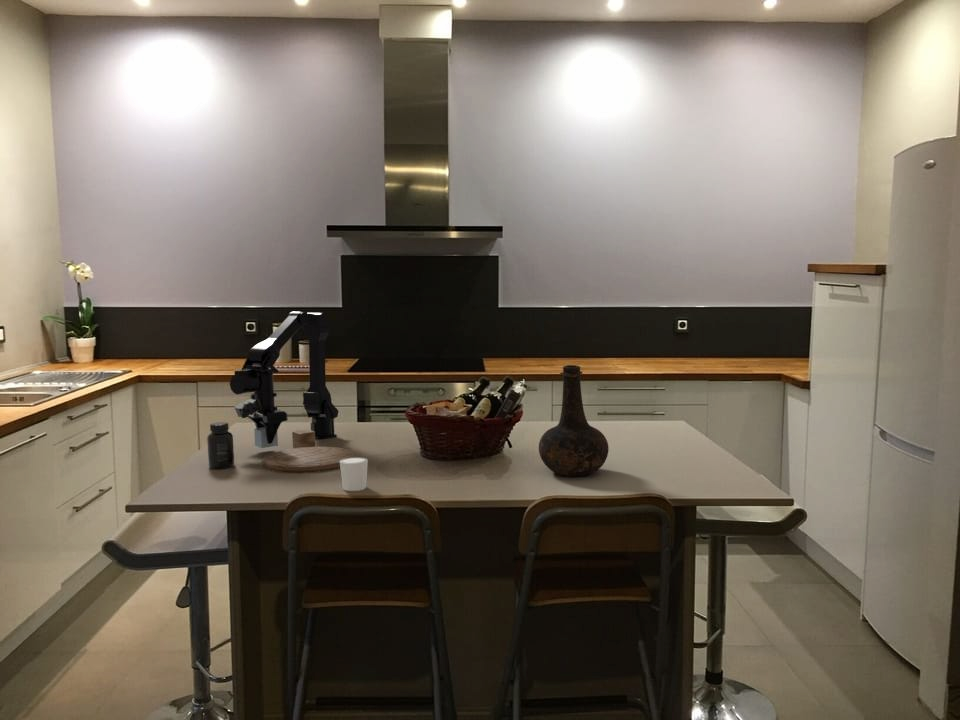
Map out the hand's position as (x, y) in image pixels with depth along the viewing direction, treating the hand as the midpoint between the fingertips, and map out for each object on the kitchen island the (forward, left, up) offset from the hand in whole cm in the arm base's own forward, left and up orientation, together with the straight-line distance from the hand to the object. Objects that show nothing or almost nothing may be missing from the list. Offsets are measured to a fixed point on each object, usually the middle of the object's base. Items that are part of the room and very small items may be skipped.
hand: (266, 441), depth 249 cm
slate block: (0, 0, -1) cm, 1 cm away
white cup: (0, +53, -3) cm, 53 cm away
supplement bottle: (+17, +9, -3) cm, 19 cm away
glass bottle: (-51, +77, -3) cm, 92 cm away
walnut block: (-11, +2, -3) cm, 12 cm away
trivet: (-4, +20, -4) cm, 21 cm away
